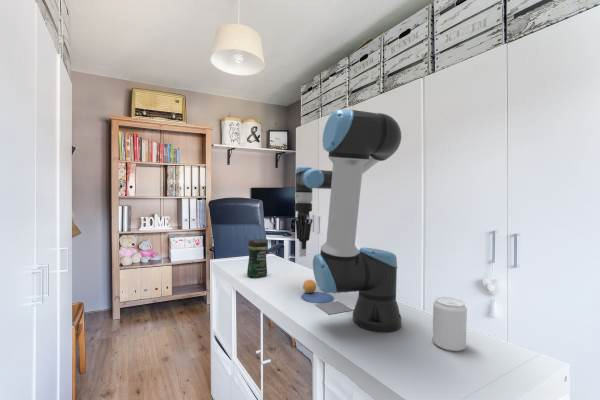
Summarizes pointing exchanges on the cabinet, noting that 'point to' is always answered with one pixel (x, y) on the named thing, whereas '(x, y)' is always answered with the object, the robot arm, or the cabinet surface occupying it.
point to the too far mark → (333, 307)
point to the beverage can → (449, 323)
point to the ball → (309, 286)
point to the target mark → (317, 297)
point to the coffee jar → (257, 258)
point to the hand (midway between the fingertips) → (302, 256)
